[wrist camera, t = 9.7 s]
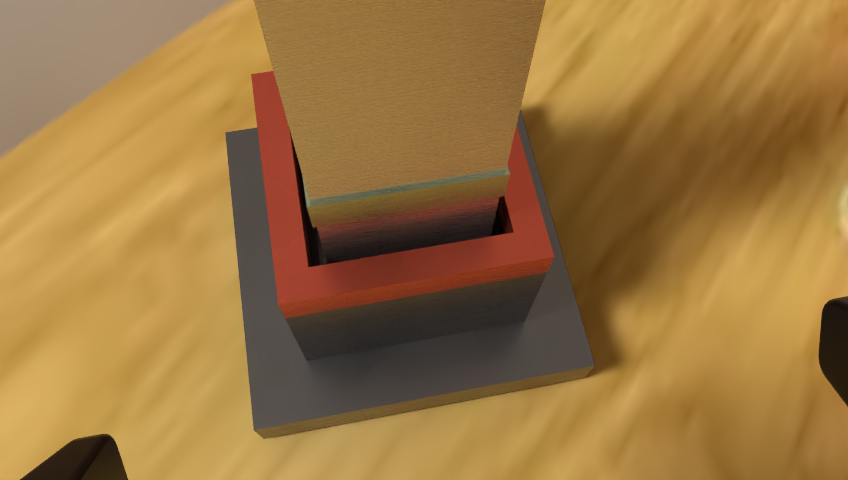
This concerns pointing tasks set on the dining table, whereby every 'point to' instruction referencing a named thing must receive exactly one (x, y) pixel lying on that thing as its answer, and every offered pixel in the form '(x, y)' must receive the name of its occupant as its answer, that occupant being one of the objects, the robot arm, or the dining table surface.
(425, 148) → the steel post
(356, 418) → the stand
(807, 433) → the dining table surface
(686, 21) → the dining table surface
